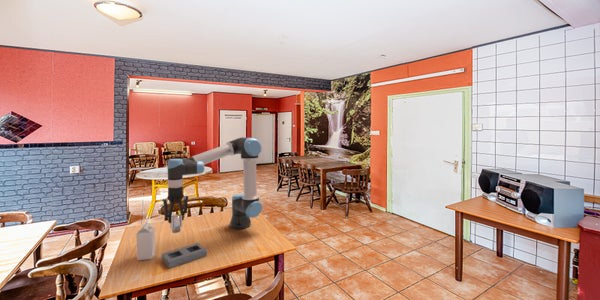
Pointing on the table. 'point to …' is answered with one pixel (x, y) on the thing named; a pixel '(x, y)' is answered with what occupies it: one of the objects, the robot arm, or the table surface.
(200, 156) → the robot arm
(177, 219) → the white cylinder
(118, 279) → the table surface
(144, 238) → the milk carton
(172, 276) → the table surface
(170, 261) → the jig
